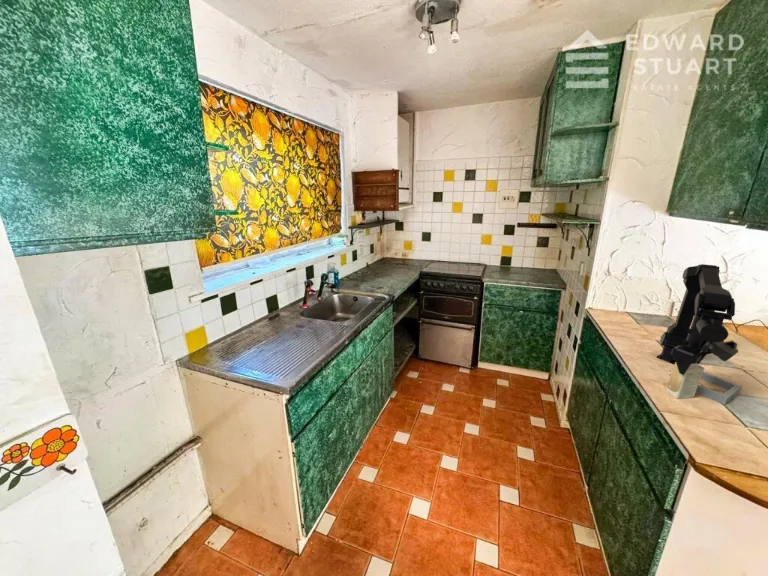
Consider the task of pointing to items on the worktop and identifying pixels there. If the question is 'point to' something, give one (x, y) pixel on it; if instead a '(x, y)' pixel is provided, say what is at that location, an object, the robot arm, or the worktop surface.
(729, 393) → the holder
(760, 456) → the worktop surface
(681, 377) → the skincare box
